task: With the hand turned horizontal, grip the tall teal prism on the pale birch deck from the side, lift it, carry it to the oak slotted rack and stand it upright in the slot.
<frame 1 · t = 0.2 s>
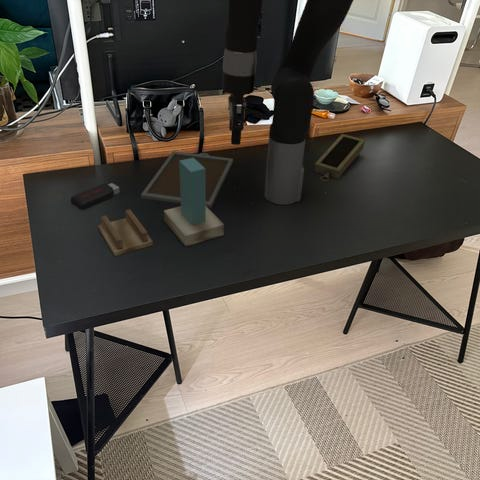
hand: (234, 136, 119), 18 cm above the table, tool pointing down, fingers open, 8 cm apart
usb drive: (97, 200, 127), on the table
grey framed brown panel: (191, 178, 138), on the table
deck: (193, 227, 117), on the table
tall teal prism: (193, 217, 115), point 3 cm above the table, touching deck
box: (336, 167, 146), on the table
rack: (125, 236, 113), on the table
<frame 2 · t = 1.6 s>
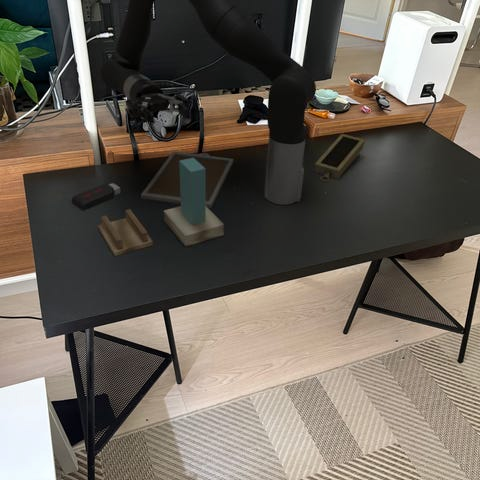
hand: (170, 116, 110), 24 cm above the table, tool horizontal, fingers open, 8 cm apart
nothing on the table moved.
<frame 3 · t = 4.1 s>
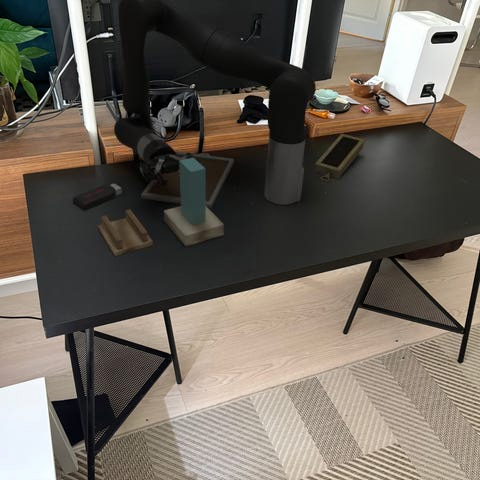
hand: (182, 179, 114), 11 cm above the table, tool horizontal, fingers open, 8 cm apart
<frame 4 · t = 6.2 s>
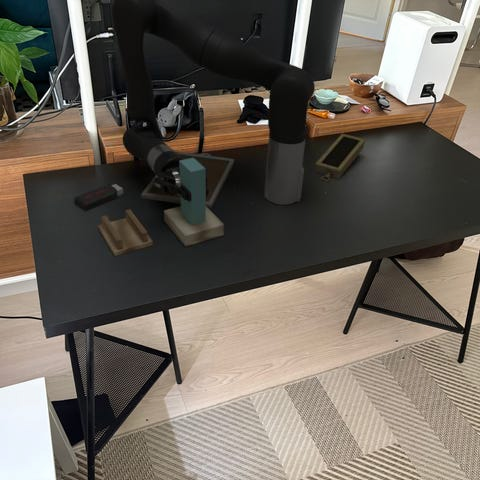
hand: (198, 195, 109), 10 cm above the table, tool horizontal, fingers closed on tall teal prism, 3 cm apart
tall teal prism: (193, 217, 115), point 3 cm above the table, touching deck, gripper
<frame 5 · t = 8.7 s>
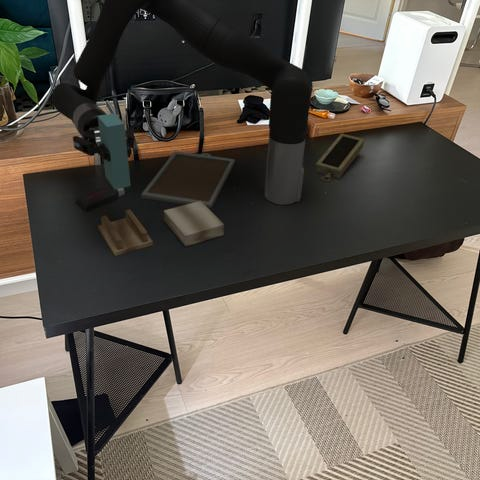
hand: (118, 155, 98), 22 cm above the table, tool horizontal, fingers closed on tall teal prism, 3 cm apart
tall teal prism: (118, 181, 104), point 15 cm above the table, touching gripper
when the fingers open (10 cm above the table, at t = 11.3 s): tall teal prism drops 1 cm, resting on rack.
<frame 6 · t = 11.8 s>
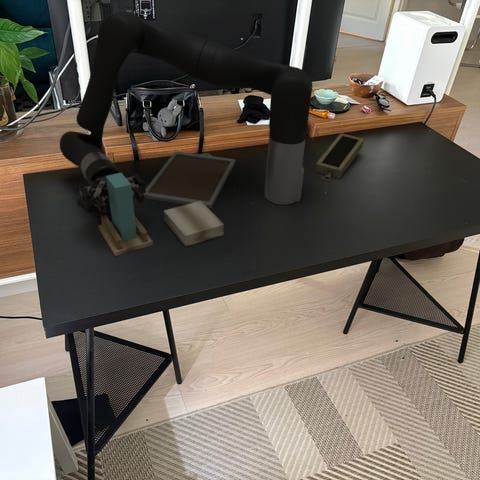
hand: (123, 204, 106), 10 cm above the table, tool horizontal, fingers open, 8 cm apart
tall teal prism: (125, 233, 112), point 1 cm above the table, touching rack
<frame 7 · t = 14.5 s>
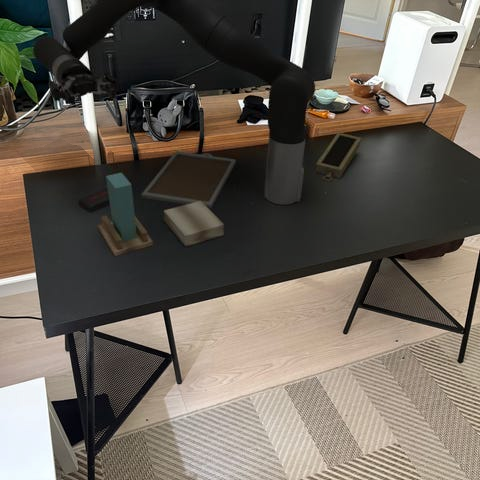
hand: (93, 97, 103), 30 cm above the table, tool horizontal, fingers open, 8 cm apart
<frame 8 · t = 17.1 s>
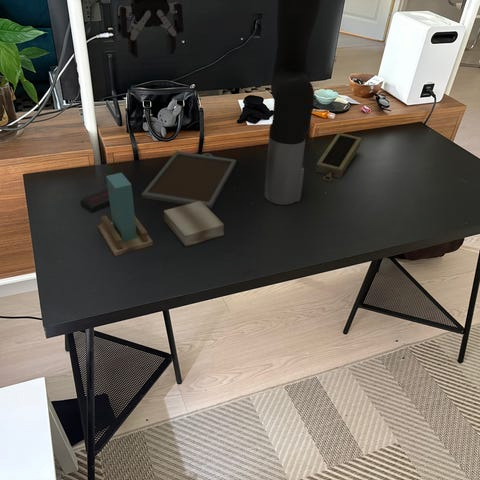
hand: (153, 55, 108), 36 cm above the table, tool pointing down, fingers open, 8 cm apart
at the end: tall teal prism inside the target area on the rack (0.1 cm from its centre), point 1.0 cm above the rack's base; tall teal prism tilted 0°; the gripper is holding nothing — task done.
